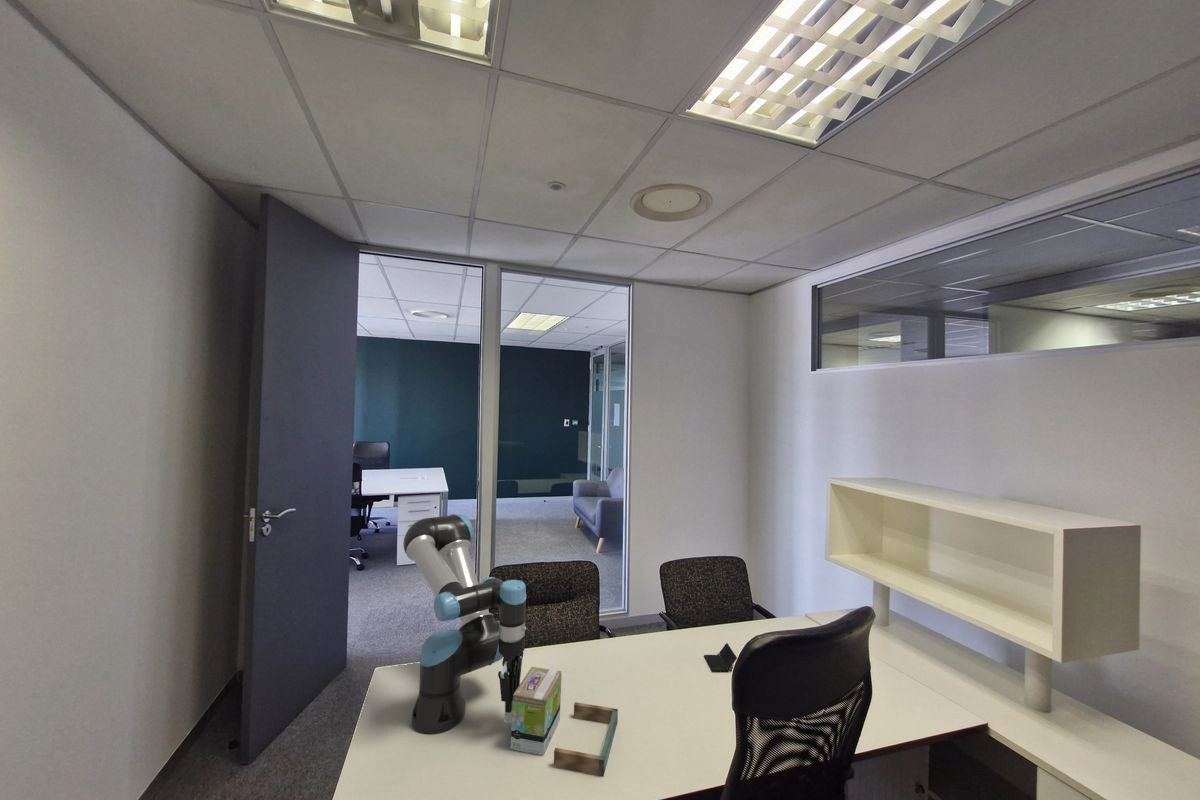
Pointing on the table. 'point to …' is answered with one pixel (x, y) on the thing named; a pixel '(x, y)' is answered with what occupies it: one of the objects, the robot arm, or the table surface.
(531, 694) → the tea box
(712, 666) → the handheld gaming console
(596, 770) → the bay
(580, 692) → the table surface
